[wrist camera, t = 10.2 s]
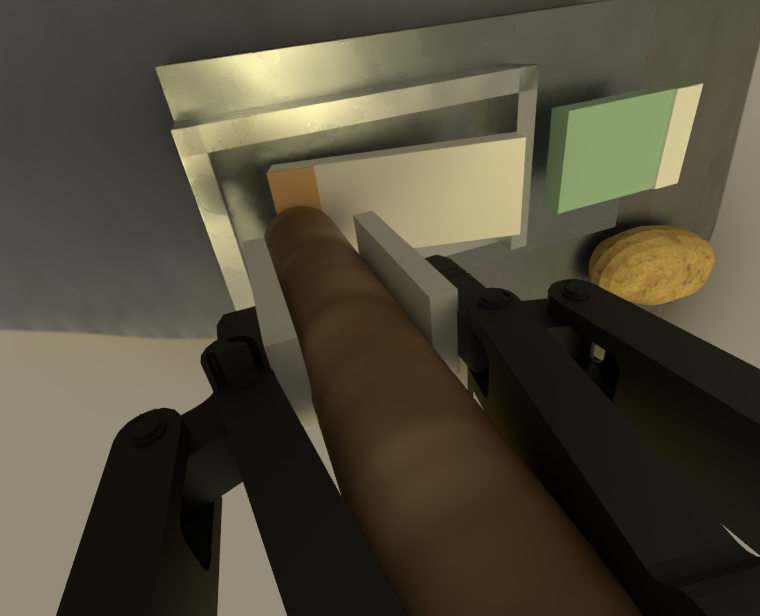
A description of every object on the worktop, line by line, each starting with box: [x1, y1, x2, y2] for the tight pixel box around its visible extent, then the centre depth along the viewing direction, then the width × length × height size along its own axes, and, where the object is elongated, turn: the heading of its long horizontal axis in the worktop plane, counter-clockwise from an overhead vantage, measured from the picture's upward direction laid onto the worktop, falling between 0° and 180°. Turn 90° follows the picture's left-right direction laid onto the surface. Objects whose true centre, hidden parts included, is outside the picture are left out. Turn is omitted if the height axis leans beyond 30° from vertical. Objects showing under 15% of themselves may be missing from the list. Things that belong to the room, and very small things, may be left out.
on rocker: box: [543, 82, 703, 214], centre depth 23 cm, size 8×5×1 cm, turn 97°
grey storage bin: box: [155, 0, 658, 311], centre depth 25 cm, size 25×13×8 cm, turn 97°
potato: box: [588, 225, 715, 305], centre depth 37 cm, size 7×11×6 cm, turn 83°
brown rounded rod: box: [264, 206, 643, 616], centre depth 12 cm, size 3×3×18 cm
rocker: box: [266, 132, 526, 254], centre depth 20 cm, size 11×4×1 cm, turn 97°
